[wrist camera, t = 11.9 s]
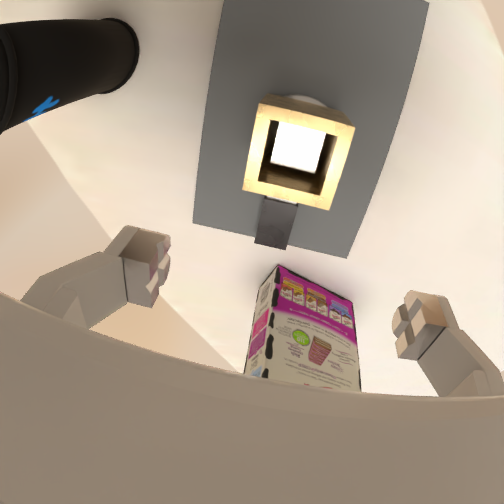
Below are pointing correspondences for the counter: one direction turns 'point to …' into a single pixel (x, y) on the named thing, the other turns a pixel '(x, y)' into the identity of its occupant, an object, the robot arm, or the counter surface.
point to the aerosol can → (61, 64)
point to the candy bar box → (303, 335)
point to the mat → (311, 83)
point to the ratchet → (295, 156)
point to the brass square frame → (290, 179)
